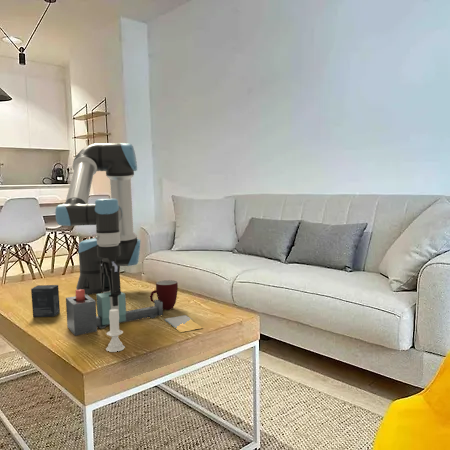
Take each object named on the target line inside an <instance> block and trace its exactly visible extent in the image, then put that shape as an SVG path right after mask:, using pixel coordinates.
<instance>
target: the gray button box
mask: <svg viewBox="0 0 450 450" xmlns="http://www.w3.org/2000/svg"><path fill="white" fill-rule="evenodd" d="M65 305H66V306H65V309H66V310H65V311H66V324H67V325H66V327H67V329H69V331H70V332H71V333H72V334H73V335H74V336H80V335H85V334H90V333H97V332H98V327H97V317H96V316H97V300H95V299H94V298H92V297H91V296H90V295H89V294H85V300H84V301H77V302H76V295H75V296H69V297H65Z"/></svg>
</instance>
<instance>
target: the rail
mask: <svg viewBox="0 0 450 450" xmlns="http://www.w3.org/2000/svg"><path fill="white" fill-rule="evenodd" d="M153 300H154V303H153V304H154V305H152V306H148V307H147V306H146V307H142V308H137V309H136V308H135V309H132V310H131V309H130V310H126V314H125V315H126V321H122V322H119V324H123V323H127V322H132V321H137V320H138V319H139V320H143V319H142V318H144V319H148V318H147V317H150V318H149V319H151V318H152V319H156V318H157V317H161V315H163V316H164V310H163V302H162V301H160V300H158V299H153ZM96 317H97V328H99V329H100V330H102V329H106V328H107V326H110V324H106V325H102V320H101V317H100V316H98V315H96ZM155 317H156V318H155Z"/></svg>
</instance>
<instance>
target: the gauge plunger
mask: <svg viewBox="0 0 450 450" xmlns="http://www.w3.org/2000/svg"><path fill="white" fill-rule="evenodd" d="M85 295H86V294H85V290H84V289H79V290H77V289H75V296H76V302H77V301H84V300H85Z"/></svg>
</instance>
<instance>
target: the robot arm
mask: <svg viewBox="0 0 450 450" xmlns="http://www.w3.org/2000/svg"><path fill="white" fill-rule="evenodd" d="M72 170H73V172H72V176H71V180H70V184H69V187H68V190H67V191H68V192H67V195H66V198H65V203H62V204H61V203H60V204H58V205H57V206H56V207H55V212H54V213H55V221H56V223H57V225H59V226H60V227H61V226H64V227H67V226H68V227H71V226H74V227H76V226H78V227H79V226H96V227H95V229H96V231H95V232H96V236H94V238H93V237H92V238H89V239H88V238H87V239H84V240H82V241H80V242H79V243H78V251H77V253H78V261H79V264H78V265H79V276H78V280H77V285H76V289H75V290H79V289H84V290H85V295H96V294H100V293H107V292H110V293H111V295H109V297H110V310H112V309H118V311H119V299H118V296H119V295H121V292H122V290H121V289H122V288H121V277H120V276H121V275H120V274H121V273H120V271H121V270H120V269H121V267H131V266H136V265H138V263H139V261H140V260H139V259H140V251H141V239H138V235H137V234H136V233H135V232H134V222H133V220H134V219H133V201H132V199H133V198H132V182H131V181H132V178H133V177H134V176H135V172H136V171H138V165H137V157H136V151H135V148H134V146H133V144H131V143H128V142H126V143H125V142H115V143H114V142H107V143H103V142H102V143H100V142H99V143H98V142H95V143H91V144H89V145H87V146H85V147H84V148H82V149H81V150H80V151H79V152H78V153H77V154H76V156H74V159H73V161H72ZM97 172H105V176H106V177H107V178H109V180H110V181H109V183H110V185H109V186H110V196H111V197H110V198H97V199H95V201H94V203H88V202H89V198H90V195H91V190H92V189H91V187H92V182H93V178H94V176H95V174H96V173H97Z"/></svg>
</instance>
